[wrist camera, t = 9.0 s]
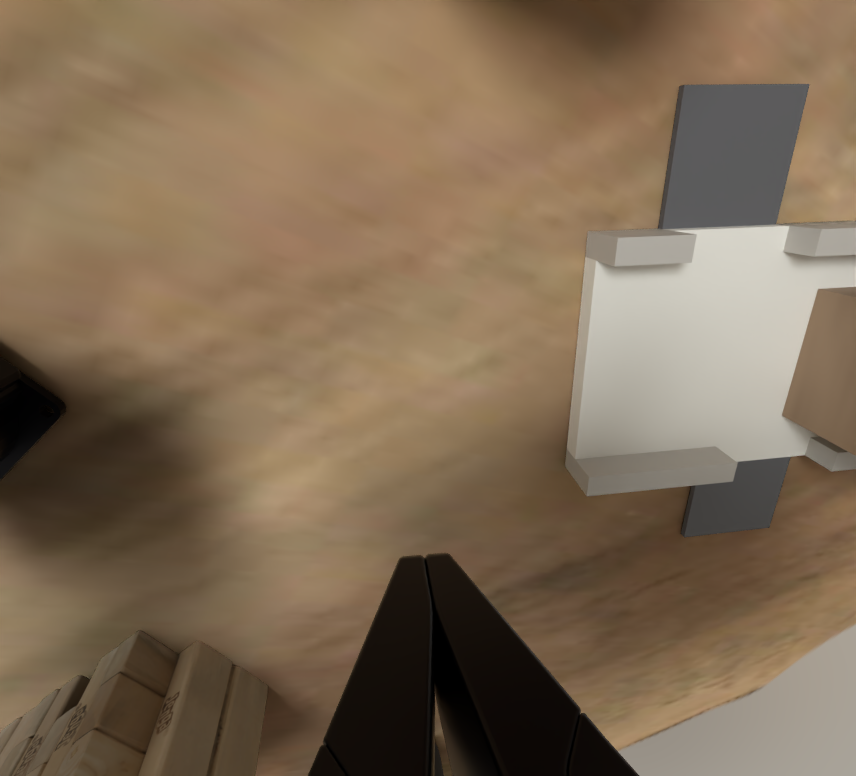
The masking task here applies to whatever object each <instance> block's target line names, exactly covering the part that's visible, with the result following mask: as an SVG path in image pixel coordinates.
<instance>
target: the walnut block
mask: <svg viewBox="0 0 856 776" xmlns="http://www.w3.org/2000/svg"><path fill="white" fill-rule="evenodd" d="M782 416H784V417H785V418H787V419H789V420H791V421H793V422H795V423H796V424H798V425H800V426H802V427H804V428H806V429H807V430H809V431H811V432H813V433H815V434H817V435H818V436H820V437H822V438H824V439H826V440H828V441H829V442H831V443H833V444H835V445H837V446H839V447H840V448H842V449H844V450H846V451H848V452H850V453H851V454H853V455H855V456H856V287H842V288H825V289H818V291H817V295H816V298H815V302H814V305H813V309H812V312H811V316H810V319H809V322H808V326H807V329H806V333H805V336H804V340H803V343H802V347H801V350H800V354H799V357H798V361H797V364H796V368H795V371H794V375H793V378H792V382H791V385H790V389H789V392H788V396H787V399H786V403H785V406H784V410H783V413H782Z"/></svg>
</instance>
